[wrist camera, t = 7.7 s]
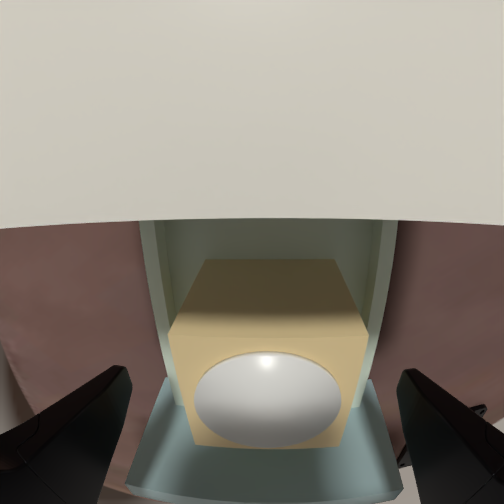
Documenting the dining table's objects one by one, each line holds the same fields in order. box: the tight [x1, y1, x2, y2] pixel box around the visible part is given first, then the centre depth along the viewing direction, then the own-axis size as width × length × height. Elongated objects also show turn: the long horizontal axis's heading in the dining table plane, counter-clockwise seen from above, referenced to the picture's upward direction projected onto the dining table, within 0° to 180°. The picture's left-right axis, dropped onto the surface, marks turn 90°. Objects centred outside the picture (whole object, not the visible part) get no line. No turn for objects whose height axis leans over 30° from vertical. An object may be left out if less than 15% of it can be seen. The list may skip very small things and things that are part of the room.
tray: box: [125, 218, 404, 504], centre depth 10 cm, size 13×11×7 cm
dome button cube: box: [168, 259, 369, 449], centre depth 10 cm, size 5×5×5 cm
